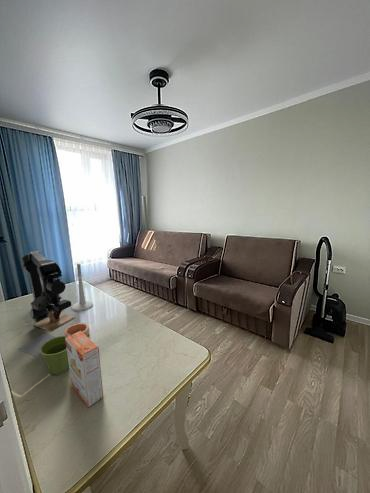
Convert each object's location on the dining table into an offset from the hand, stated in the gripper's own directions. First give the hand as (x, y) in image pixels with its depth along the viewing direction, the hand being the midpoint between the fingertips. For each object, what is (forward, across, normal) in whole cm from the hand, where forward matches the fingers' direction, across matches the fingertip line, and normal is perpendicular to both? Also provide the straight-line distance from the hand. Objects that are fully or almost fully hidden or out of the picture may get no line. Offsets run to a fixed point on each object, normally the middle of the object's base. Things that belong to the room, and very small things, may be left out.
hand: (54, 318), depth 101 cm
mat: (+13, -5, -5) cm, 15 cm away
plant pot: (+13, +17, -11) cm, 24 cm away
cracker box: (+13, +36, -14) cm, 41 cm away
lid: (+2, 0, 0) cm, 2 cm away
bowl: (+13, +6, +7) cm, 15 cm away
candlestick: (+13, -19, +31) cm, 39 cm away
